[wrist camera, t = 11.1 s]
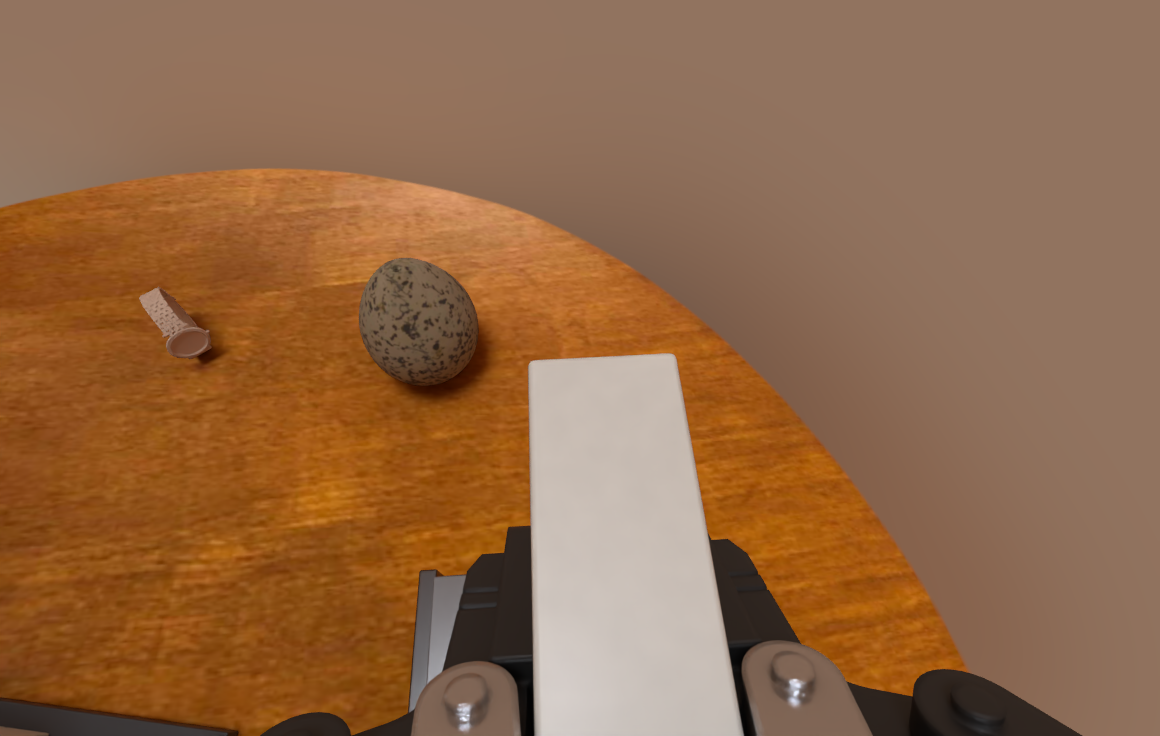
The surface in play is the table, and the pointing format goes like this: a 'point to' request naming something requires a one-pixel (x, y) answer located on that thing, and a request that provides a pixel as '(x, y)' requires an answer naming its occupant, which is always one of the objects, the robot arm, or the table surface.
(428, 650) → the grey rack
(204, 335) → the pink wristwatch
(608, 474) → the white book
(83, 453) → the table surface
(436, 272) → the decorative egg
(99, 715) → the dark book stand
